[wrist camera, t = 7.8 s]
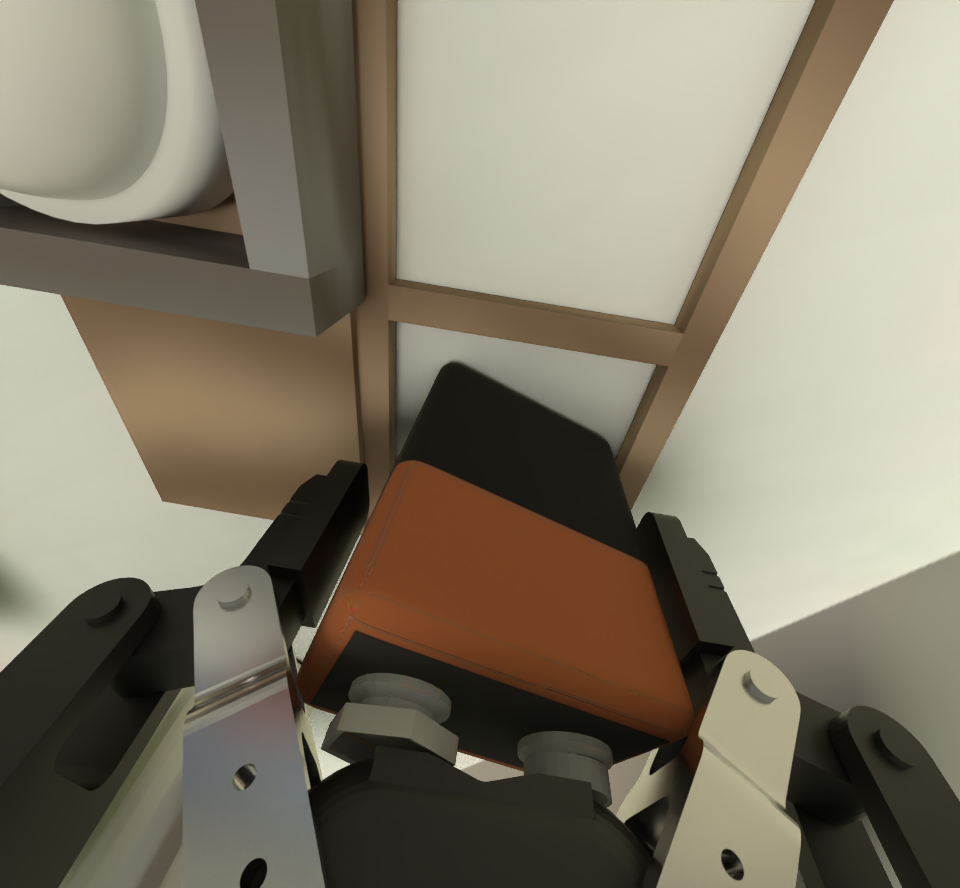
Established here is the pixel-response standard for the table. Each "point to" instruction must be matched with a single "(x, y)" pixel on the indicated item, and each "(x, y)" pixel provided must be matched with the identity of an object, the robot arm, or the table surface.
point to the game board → (357, 264)
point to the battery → (499, 602)
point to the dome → (108, 111)
